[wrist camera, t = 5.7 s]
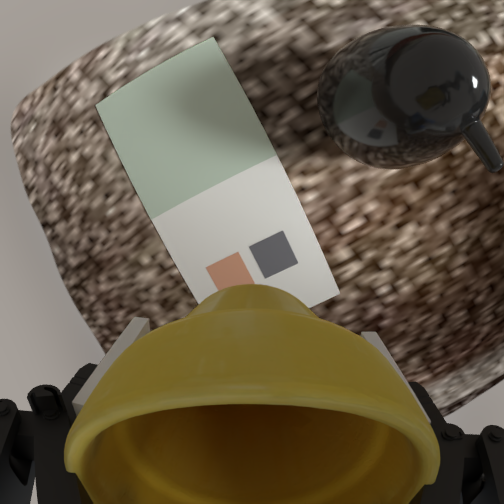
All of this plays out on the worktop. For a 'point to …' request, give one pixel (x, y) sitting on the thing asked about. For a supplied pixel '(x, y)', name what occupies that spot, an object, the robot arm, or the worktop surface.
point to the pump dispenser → (407, 97)
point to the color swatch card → (214, 179)
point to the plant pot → (252, 413)
